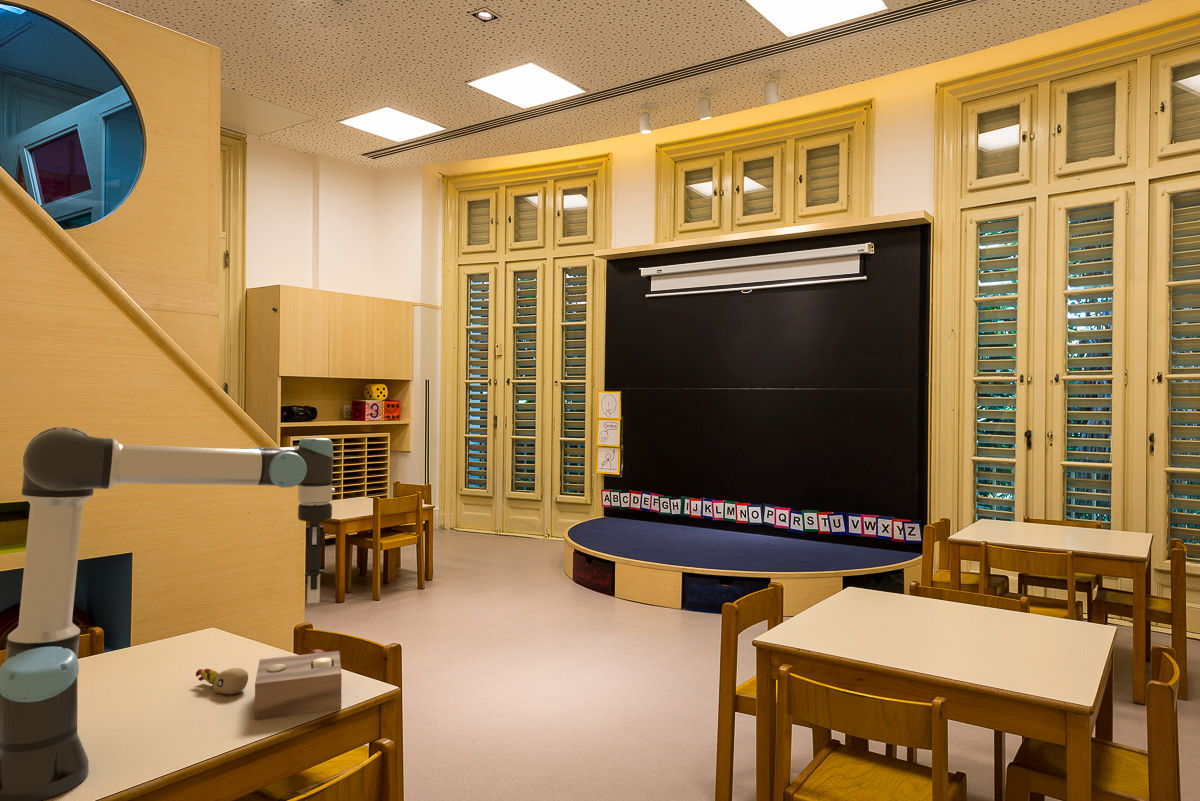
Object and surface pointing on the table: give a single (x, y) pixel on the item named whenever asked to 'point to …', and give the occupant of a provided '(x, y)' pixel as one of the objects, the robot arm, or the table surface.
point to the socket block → (297, 685)
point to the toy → (225, 679)
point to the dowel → (322, 662)
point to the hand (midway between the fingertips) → (313, 602)
